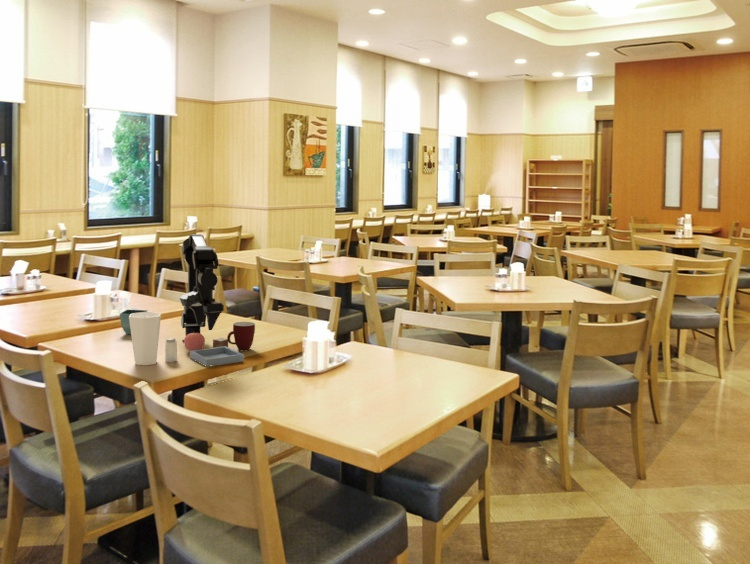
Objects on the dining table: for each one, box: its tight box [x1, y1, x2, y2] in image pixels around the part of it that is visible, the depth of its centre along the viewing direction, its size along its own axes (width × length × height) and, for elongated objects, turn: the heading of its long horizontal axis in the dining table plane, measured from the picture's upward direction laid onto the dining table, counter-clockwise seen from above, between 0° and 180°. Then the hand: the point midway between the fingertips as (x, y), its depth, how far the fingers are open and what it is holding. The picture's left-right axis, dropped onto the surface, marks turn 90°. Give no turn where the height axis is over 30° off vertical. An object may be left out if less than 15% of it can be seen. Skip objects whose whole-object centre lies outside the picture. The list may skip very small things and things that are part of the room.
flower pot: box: [119, 309, 149, 335], centre depth 293 cm, size 9×9×9 cm
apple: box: [183, 331, 206, 352], centre depth 267 cm, size 7×7×8 cm
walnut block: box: [212, 337, 229, 348], centre depth 272 cm, size 4×4×4 cm
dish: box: [189, 346, 244, 367], centre depth 257 cm, size 14×14×3 cm
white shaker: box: [164, 337, 178, 363], centre depth 254 cm, size 4×4×8 cm
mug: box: [226, 321, 256, 352], centre depth 272 cm, size 11×8×10 cm
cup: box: [129, 311, 162, 366], centre depth 249 cm, size 11×10×17 cm
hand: (204, 327), depth 254 cm, fingers open, 9 cm apart
